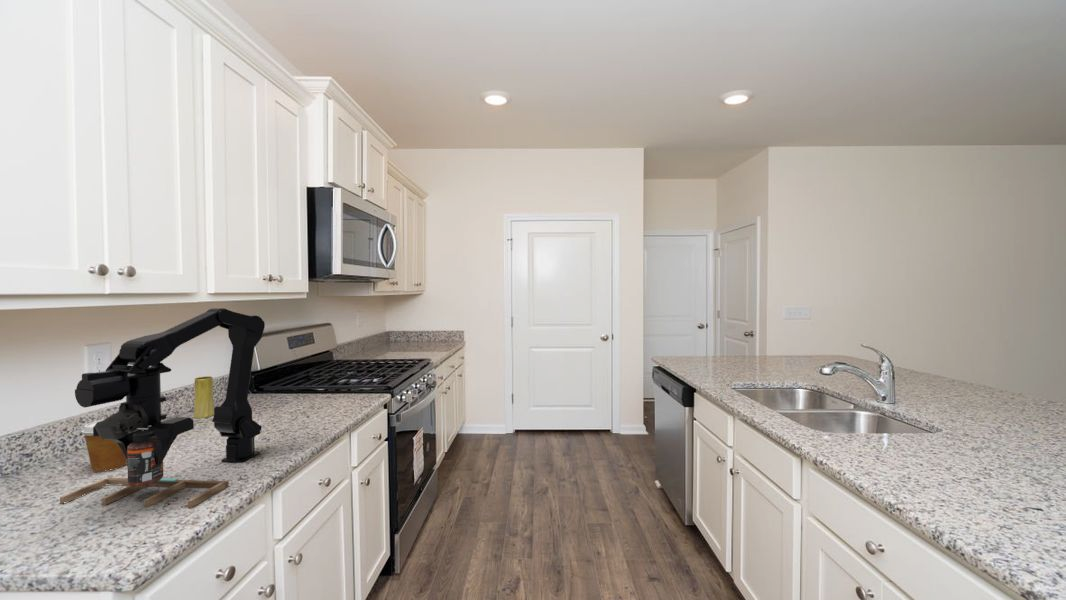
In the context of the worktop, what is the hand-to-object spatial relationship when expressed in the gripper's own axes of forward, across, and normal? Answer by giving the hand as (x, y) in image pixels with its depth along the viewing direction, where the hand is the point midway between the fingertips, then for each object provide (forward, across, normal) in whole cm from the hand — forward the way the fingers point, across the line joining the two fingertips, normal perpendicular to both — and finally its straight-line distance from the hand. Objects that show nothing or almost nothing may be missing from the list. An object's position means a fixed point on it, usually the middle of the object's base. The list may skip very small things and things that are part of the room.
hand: (145, 464), depth 94 cm
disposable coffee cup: (+7, -25, +14) cm, 30 cm away
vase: (+8, -39, +59) cm, 71 cm away
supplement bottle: (+4, 0, 0) cm, 4 cm away
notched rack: (+7, 0, 0) cm, 7 cm away
